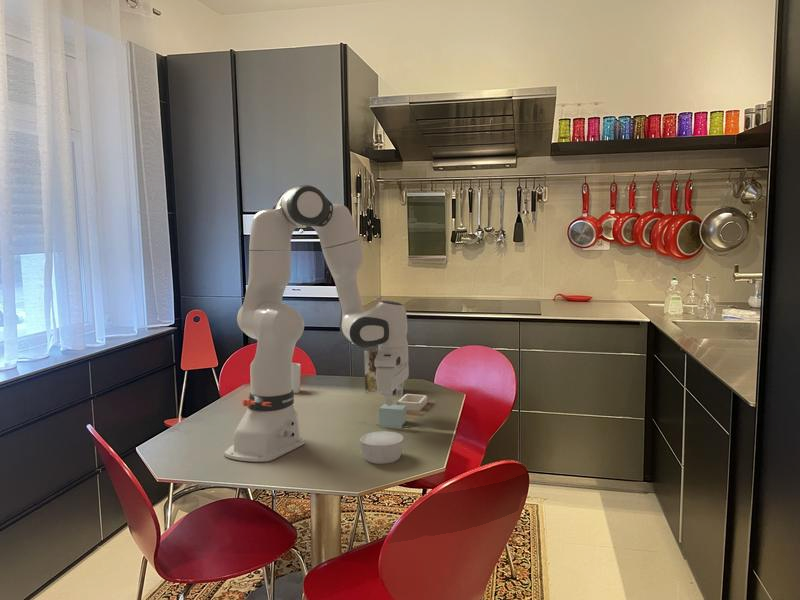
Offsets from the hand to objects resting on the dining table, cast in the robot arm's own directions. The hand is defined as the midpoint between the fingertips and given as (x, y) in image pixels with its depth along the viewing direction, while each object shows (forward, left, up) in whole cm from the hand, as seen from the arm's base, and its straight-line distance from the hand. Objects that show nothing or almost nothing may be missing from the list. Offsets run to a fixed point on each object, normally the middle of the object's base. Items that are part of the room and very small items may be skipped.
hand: (394, 400), depth 178 cm
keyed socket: (+17, 0, -7) cm, 19 cm away
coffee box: (+33, +17, -8) cm, 38 cm away
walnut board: (+15, 0, -8) cm, 17 cm away
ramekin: (-26, -4, -8) cm, 27 cm away
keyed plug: (-1, +1, -8) cm, 8 cm away
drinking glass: (+27, +48, -8) cm, 56 cm away
